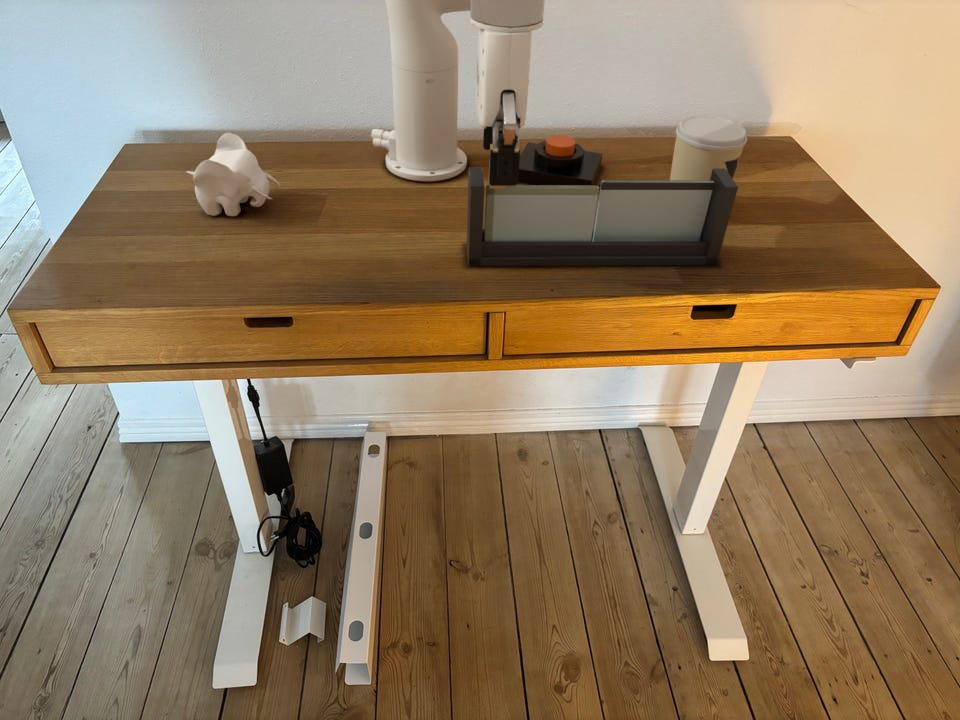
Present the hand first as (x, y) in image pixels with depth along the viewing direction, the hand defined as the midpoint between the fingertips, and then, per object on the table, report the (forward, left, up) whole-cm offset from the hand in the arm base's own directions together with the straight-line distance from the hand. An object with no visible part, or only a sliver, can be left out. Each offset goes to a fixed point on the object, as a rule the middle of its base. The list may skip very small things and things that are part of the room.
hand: (499, 165), depth 85 cm
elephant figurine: (-38, +1, -13) cm, 40 cm away
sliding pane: (+5, +2, -11) cm, 12 cm away
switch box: (+2, +27, -13) cm, 30 cm away
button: (+2, +27, -9) cm, 29 cm away
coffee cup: (+23, +23, -13) cm, 35 cm away
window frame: (+11, +5, -13) cm, 18 cm away
